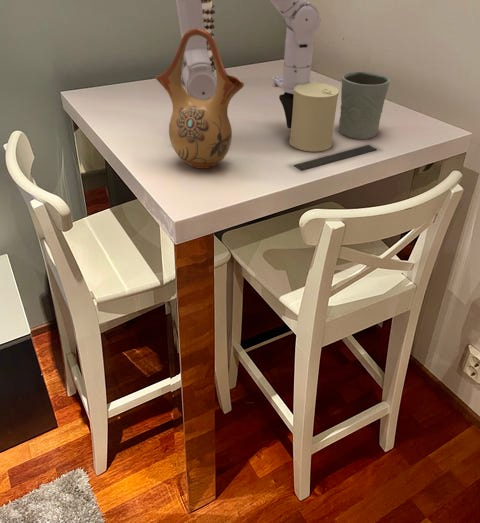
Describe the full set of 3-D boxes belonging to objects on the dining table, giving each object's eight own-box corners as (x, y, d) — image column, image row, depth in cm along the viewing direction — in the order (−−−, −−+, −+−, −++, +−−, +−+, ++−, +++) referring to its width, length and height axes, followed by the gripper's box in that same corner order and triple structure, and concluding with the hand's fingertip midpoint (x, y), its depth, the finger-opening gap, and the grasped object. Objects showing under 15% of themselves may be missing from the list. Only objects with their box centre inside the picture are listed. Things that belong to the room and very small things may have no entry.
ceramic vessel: (247, 160, 104) (251, 26, 89) (235, 180, 97) (238, 37, 82) (169, 150, 107) (161, 19, 92) (153, 168, 100) (141, 29, 85)
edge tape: (301, 170, 101) (301, 169, 100) (293, 165, 102) (293, 164, 102) (376, 149, 109) (376, 149, 109) (368, 145, 111) (368, 144, 111)
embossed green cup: (346, 141, 112) (354, 86, 105) (327, 125, 120) (334, 72, 113) (388, 137, 115) (399, 83, 108) (367, 121, 123) (376, 69, 116)
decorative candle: (221, 80, 146) (222, -20, 131) (202, 89, 140) (200, -15, 125) (195, 74, 150) (192, -23, 135) (175, 82, 144) (170, -19, 129)
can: (317, 155, 106) (324, 97, 99) (280, 143, 111) (284, 87, 104) (339, 142, 112) (348, 86, 105) (304, 131, 117) (309, 77, 110)
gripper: (335, 70, 104) (327, 134, 112) (292, 53, 114) (287, 113, 122) (307, 75, 101) (301, 141, 109) (265, 57, 111) (262, 119, 119)
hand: (292, 127), depth 115 cm, fingers closed
